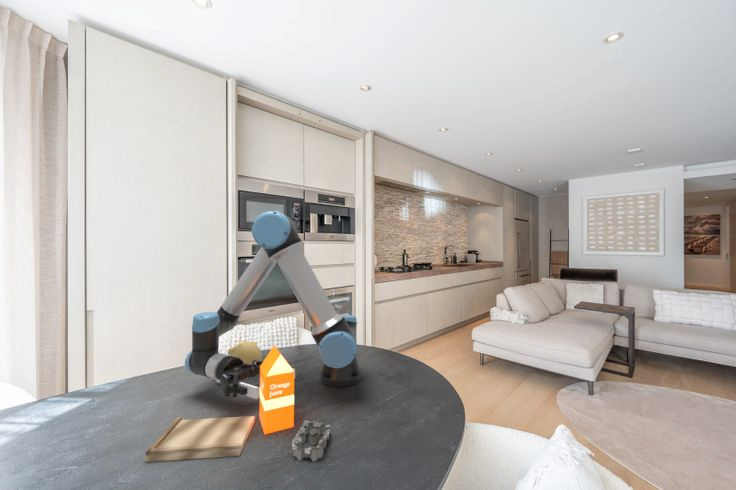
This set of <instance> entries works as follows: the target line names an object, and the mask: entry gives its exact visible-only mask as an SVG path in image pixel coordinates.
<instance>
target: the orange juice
mask: <svg viewBox="0 0 736 490" xmlns="http://www.w3.org/2000/svg"><path fill="white" fill-rule="evenodd" d="M292 368H293V367H292V366H291V365H290V364H289V362H288V360H287V359H286V358H285V357H284V356H283V355H282V353H281V352H280V351H279V349H278V348H277V347H276V346H275V344H274V345H273V346H272V347H271V349H270V351H269V353H268V354H267V355H266V357H265V359H263V363H262V364H261V366H260V375H259V414H258V416H259V421H260V424H261V425H260V426H261V427H262V431H263V434H264V435H268V434H271V433H272V434H273V433H276V432H279V431H283V430H286V429H287V430H288V429H291V428H294V426H295V422H294V421H295V420H294V419H295V417H294V416H295V379H294V371H293V369H292Z"/></svg>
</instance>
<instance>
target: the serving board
mask: <svg viewBox="0 0 736 490" xmlns="http://www.w3.org/2000/svg"><path fill="white" fill-rule="evenodd" d="M255 422H256V415H250V416H249V415H248V416H246V415H245V416H233V417H231V416H229V417H215V418H214V417H213V418H212V417H211V418H210V417H209V418H196V419H195V418H194V419H193V418H192V419H183V417H182V416H178V417H176V418H175V419H174V420H173V422H172V423H171V424H170V425H169V426H168V427H167V428H166V429H165V430H164V431H163V433H161V435H159V437H158V438H157V439H156V440H155V441H154V442H153V443H152V444H151V445H150V447H148V448H147V450H146V451H145V463H149V462H150V463H151V462H153V463H154V462H167V461H181V460H182V461H183V460H193V459H194V460H196V459H209V458H213V459H214V458H224V457H228V458H229V457H238V456H239V457H240V455H241V453H242V451H243V448H244V447H245V444H246V443H247V439H248V437H249V435H250V433H251V432H252V428H253V427H254V425H255Z"/></svg>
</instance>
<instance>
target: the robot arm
mask: <svg viewBox="0 0 736 490" xmlns="http://www.w3.org/2000/svg"><path fill="white" fill-rule="evenodd" d="M251 234H252V238H253V240H254V242H255V243H256V244H257V245H258V246H260V249H259V250H258V252H257V253H255V254H256V255H255V256H254V257H253V258H252V260H251V261H250V263H249V265H248V266H247V267H246V269H245V270H244V271H243V273H242V275H241V276H240V278H239V279H238V280H237V282H236V284H235V285H234V287H232V290H231V291H230V292H229V294H228V295H227V297H226V298H225V299H224V301H223V303H222V304H221V305H220V307H219V308H218V310H217V311H207V312H206V311H205V312H199V313H197V314H194V316H193V317H192V325H191V330H192V331H191V332H192V333H191V336H192V337H191V343H192V344H191V350H190V351H189V352H188V354H187V355H186V357H185V360H184V366H185V369H186V370H187V371H188V372H190V373H193V375H197V376H202V377H205V378H208V379H212V380H215V381H216V382H215V383H216V386H218V387H220V389H221V391H222V394H224V397H230V396H231V394H232V398H237V397H238V396H239V395H240V396H244V397H245V396H246V397H248V398H252V399H254V400H258V399H260V386H259V387H258V386H256V385H253V384H249V383H246V382H242V380H246V379H247V378H255V377H257V376H258V375H259V376H260V366H261V364H262V363H263V361H264V360H263V361H262V360H261V361H256V360H254V361H252V364H244V363H243V361H242V360H241V359H240V358H238V357H234V356H230V355H228V354H226V353H221V352H219V344H220V337H221V336H223V335H224V334H226V333H228V332H229V331H232V330H233V329H234V328H235V327H236V326H237V325H238V323H239V318H241V317H240V316H241V315H242V313H243V312H244V311H245V310H246V308H247V306H248V305H249V304H250V302H251V301H252V300H253V298H254V296H255V295H256V293H257V292H258V291H259V289H260V287H261V286H262V285H263V283H264V282H265V281H266V279H267V277H268V276H269V275H270V273H271V272H272V271H273V269H274V267H275V266H276V264H277V265H278V267H279V268H280V270H281V272H282V274H283V275H284V277H285V279H286V281H287V283H288V284H289V287H290V288H291V290H292V292H293V294H294V295H295V297H296V299H297V302H298V303H299V305H300V306H301V309H302V310H303V312H304V313H305V315H306V316H305V317H307V319H308V321H309V323H310V324H311V326H312V329H311V336H312V338H313V340H314V342H315V345H316V346H317V347H318V348H317V352H318V356H319V359H320V360H321V362H322V365H321V369H320V372H319V381H320V382H321V383H322V384H324V385H325V386H329V387H337V388H340V387H350V386H353V385H355V384H357V383H359V382H360V381H361V380H362V370H361V368H360V364H359V362H358V361H359V360H358V358H357V352H358V341H357V339H358V338H357V333H358V332H357V327H358V326H357V325H358V322H357V321H358V320H357V317H356V316H355V315H353V314H352V315H351V314H340V313H337V312H336V310H335V308H334V306H333V305H332V303H331V301H330V300H329V298H328V295H327V294H326V292H325V290H324V288H323V287H322V285H321V282H320V281H319V280H318V277H317V276H316V274H315V273H314V270H313V268H312V267H311V265H310V263H309V262H308V259H307V258H306V256H305V255H304V252H303V249H302V245H303V240H302V239H301V238H300V236H299V227H298V225H297V223H296V221H295V220H294V219H292V217H290V216H287V215H285V213H282V212H281V211H276V210H274V211H273V210H270V211H265V212H263V213H260V214H259V215H258V216H257V217H256V218H255V219H254V221H253V223H252V226H251ZM291 368H292V369H293V371H294V380H295V379H296V368H293V367H291ZM252 369H253V371H252ZM239 381H241V382H239Z"/></svg>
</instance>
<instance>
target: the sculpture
mask: <svg viewBox="0 0 736 490" xmlns="http://www.w3.org/2000/svg"><path fill="white" fill-rule="evenodd" d="M262 353H263V352H262V350H261V349H260V346H259V345H257V342H256V341H240V342H238V344H236V345H233V346H232V347H230V348H228V350H227V355H230V356H234V357H238V358H240V359H241V360H242V361H243V363H244V364H252V361H254V360H256V361H262V359H263V358H262V357H263V354H262ZM252 372H254V370H253V369H252Z"/></svg>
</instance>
